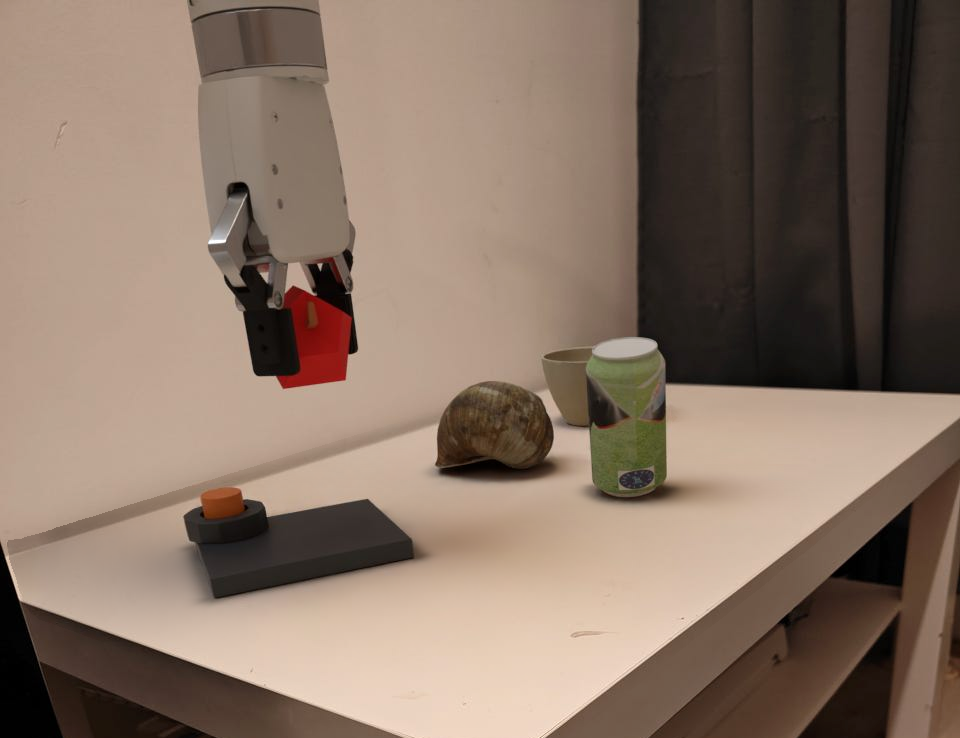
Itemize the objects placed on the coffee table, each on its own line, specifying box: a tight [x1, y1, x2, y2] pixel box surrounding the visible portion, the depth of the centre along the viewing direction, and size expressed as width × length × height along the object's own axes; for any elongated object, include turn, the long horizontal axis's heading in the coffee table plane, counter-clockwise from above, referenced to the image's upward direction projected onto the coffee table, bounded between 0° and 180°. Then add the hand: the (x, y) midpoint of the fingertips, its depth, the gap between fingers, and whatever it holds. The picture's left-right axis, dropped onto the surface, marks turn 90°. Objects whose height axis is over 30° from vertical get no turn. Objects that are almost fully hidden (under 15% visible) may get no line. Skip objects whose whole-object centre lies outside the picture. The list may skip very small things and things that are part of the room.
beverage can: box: [586, 336, 668, 498], centre depth 74 cm, size 6×7×12 cm
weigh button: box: [199, 486, 245, 519], centre depth 70 cm, size 3×3×2 cm
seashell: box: [434, 380, 555, 470], centre depth 85 cm, size 11×9×8 cm
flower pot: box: [540, 346, 594, 427], centre depth 100 cm, size 10×10×7 cm
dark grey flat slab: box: [183, 498, 415, 599], centre depth 69 cm, size 14×13×3 cm
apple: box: [275, 285, 352, 390], centre depth 62 cm, size 7×7×8 cm
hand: (308, 362), depth 63 cm, fingers closed on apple, 7 cm apart
